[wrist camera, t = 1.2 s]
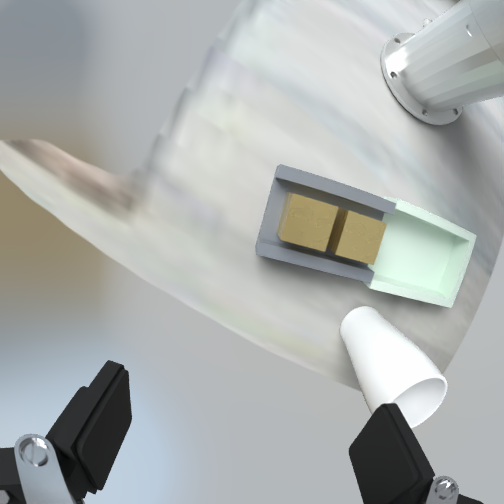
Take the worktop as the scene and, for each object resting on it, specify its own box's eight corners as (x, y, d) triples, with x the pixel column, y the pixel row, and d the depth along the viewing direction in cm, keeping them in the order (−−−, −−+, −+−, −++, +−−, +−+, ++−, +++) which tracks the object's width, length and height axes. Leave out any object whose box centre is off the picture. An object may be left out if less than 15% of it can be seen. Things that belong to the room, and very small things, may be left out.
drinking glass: (393, 311, 31) (461, 382, 16) (362, 354, 32) (410, 437, 17) (354, 289, 30) (419, 365, 15) (322, 336, 31) (360, 430, 17)
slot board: (277, 166, 27) (280, 164, 24) (382, 201, 27) (396, 203, 24) (255, 246, 29) (255, 254, 25) (359, 273, 29) (370, 283, 26)
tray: (383, 196, 27) (398, 198, 24) (460, 230, 28) (476, 235, 25) (358, 277, 29) (369, 288, 26) (437, 297, 30) (451, 307, 27)
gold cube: (287, 191, 26) (293, 193, 22) (326, 203, 26) (338, 206, 22) (276, 231, 27) (280, 239, 23) (314, 242, 27) (324, 251, 23)
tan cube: (335, 206, 26) (348, 210, 22) (369, 217, 27) (387, 223, 23) (324, 244, 27) (335, 254, 23) (358, 254, 28) (373, 265, 24)
